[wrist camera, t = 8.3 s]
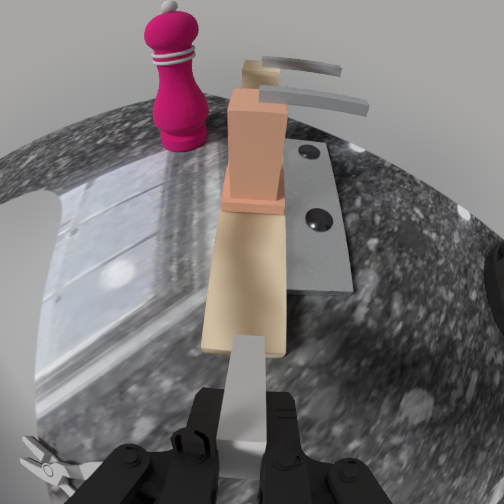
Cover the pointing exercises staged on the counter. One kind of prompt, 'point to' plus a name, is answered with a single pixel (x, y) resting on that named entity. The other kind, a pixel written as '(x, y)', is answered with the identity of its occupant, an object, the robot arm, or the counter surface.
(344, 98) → the slide leg
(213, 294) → the rail
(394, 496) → the counter surface
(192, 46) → the pepper mill
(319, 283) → the hole plate
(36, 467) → the pliers
